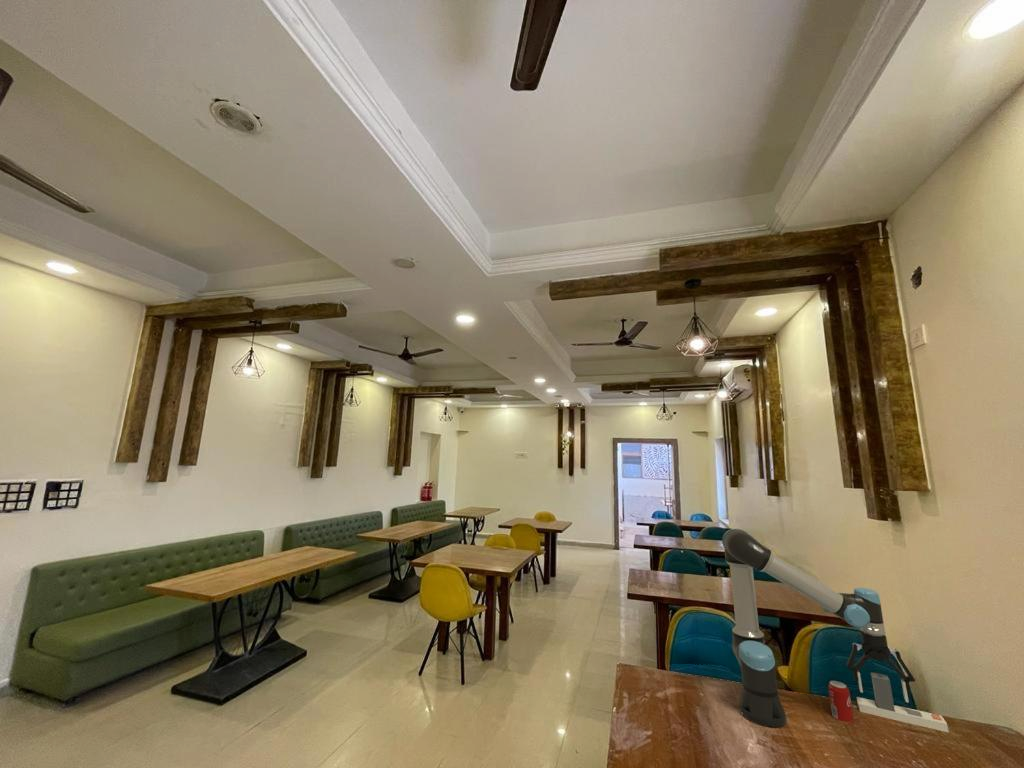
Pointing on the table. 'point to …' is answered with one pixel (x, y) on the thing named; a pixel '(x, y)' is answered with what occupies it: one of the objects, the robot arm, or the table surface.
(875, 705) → the power strip
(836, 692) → the beverage can
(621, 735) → the table surface
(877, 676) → the charger
